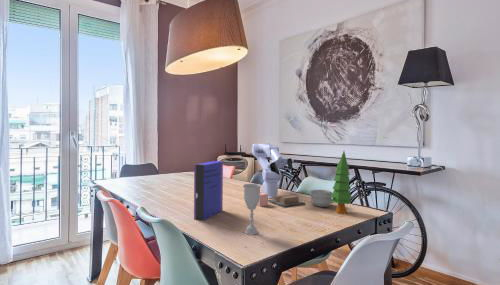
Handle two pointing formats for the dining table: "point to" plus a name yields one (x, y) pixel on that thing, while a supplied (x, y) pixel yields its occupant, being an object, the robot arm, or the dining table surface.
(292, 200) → the base
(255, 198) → the chalice
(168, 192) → the dining table surface
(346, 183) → the decorative tree
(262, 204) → the coral block
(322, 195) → the teacup
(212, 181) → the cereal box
